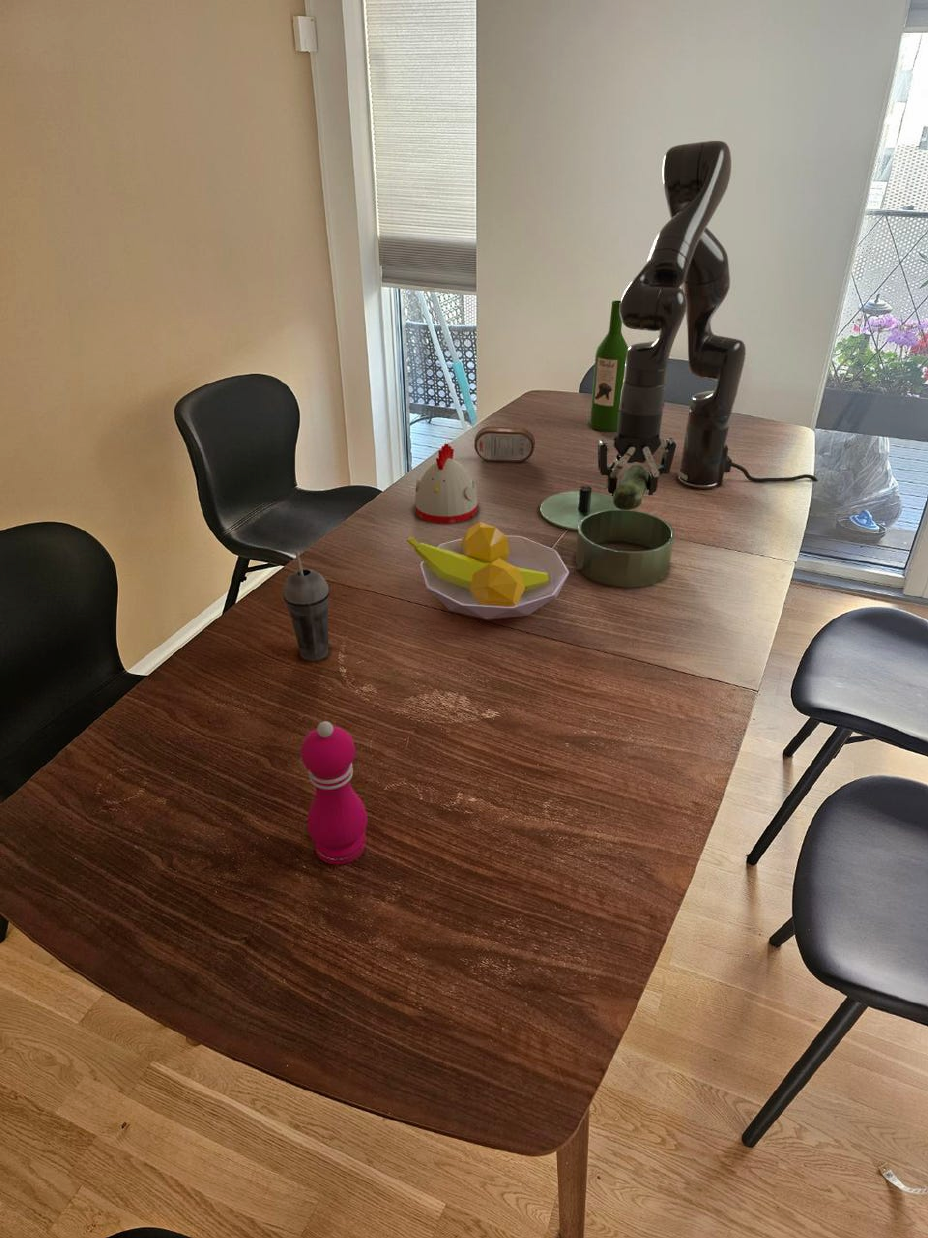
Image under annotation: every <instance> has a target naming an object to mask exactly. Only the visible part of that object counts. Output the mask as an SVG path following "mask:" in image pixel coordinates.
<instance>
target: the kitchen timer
mask: <svg viewBox="0 0 928 1238" xmlns="http://www.w3.org/2000/svg"><path fill="white" fill-rule="evenodd" d="M454 452H455V449H454V448H452V445H450V444H449V443H444V444H443V445H441V449H439V450H438V452H437V454H438V458H437V457H436V458H435V461H434V462H432V463H430V465H428V467H427V468H426V470H425V471H424V472H423V474H422V475H421V478H420V479H419V478H417V479H416V481H415V482H416V484H415V490H414V491H415V496H414V497H415V498H414V512H415V514H416V515H417V517H418V518H421V519H422V520H424V521H426V522H429V523H434V524H435V523H436V524H449V525H450V524H456V523H457V524H458V523H461V522H465V521H467V520H469V519H471V518H473V515H474V514H475V513H476V512H477V510H478V506H479V505H478V504H479V503H478V496H477V486H476V480H475V479H473V480H472V477H471V476H470V474H469V473H468V471H467V470H466V469H465V468H464V466H463V465H462V464H461V463H459V461H457V460H455V459H454Z"/></svg>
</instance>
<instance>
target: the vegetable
mask: <svg viewBox="0 0 928 1238" xmlns="http://www.w3.org/2000/svg"><path fill="white" fill-rule="evenodd" d="M648 474H649V473H648V471H647V469H646V468H645V467H644V466H643V465H641V464H633V465H632V464H631V465H630V466H629V467H627V468H626V470H625V471H624V472H623V475H622V477H621V479H620V481H619V483H618V484H617V485H618V486H616V490H615V492H614V494H613V496H612V497H613V503H614V505H615V506H616V507H617V508H619V509H622V510H635V509H638V507H640V506H641V504H642V501H643V497H644V494H645V492H646V491H647V482H648Z"/></svg>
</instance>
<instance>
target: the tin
mask: <svg viewBox="0 0 928 1238" xmlns="http://www.w3.org/2000/svg"><path fill="white" fill-rule="evenodd" d="M473 446H474V450H475V453H476V454H477V456H478V457H480V458H481V459H482V460H484V461H487V462H503V463H504V462H508V463H509V462H510V463H522V462H525V461H527V460H528V459H530V458H531V457H532V455H533V453H534V451H535V448H536V447H535V446H536V440H535V437H534V435H533V434H532V432H531V431H530V430H528V429H526V428H523V427H512V426H511V427H510V426H509V427H508V426H485V427H483V428H481V429H480V430H478V432H477V433H476V434H475V436H474V445H473Z"/></svg>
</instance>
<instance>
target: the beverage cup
mask: <svg viewBox="0 0 928 1238" xmlns="http://www.w3.org/2000/svg"><path fill="white" fill-rule="evenodd" d="M294 555H295V559H296V563H297V567H298V568H297V569H298V570H296V571H294V572H293V573H291V574H290V575H289V576H288V578H287V579H286V581H285V584H284V588H283V600H284V602H285V604H286V608H287V609H288V611H289V615H290V620H291V623H292V627H293V631H294V635H295V639H296V643H297V646H298V649H299V652H300V656H301V657H302V659H304V660H305V661H311V662H313V661H319V660H322V659H324V658H326V657H327V656H328V654H329V609H328V608H329V607H328V606H329V600H330V597H329V596H330V592H331V591H330V589H329V585H328V583H327V581H326V580H325V578H324V576H322V574H321V573H320V572H318V571H316V570H314V569H310V568H303V566H302V561H301V558H300V557H301V556H300V553H299V550H298V549H295V550H294Z"/></svg>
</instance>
